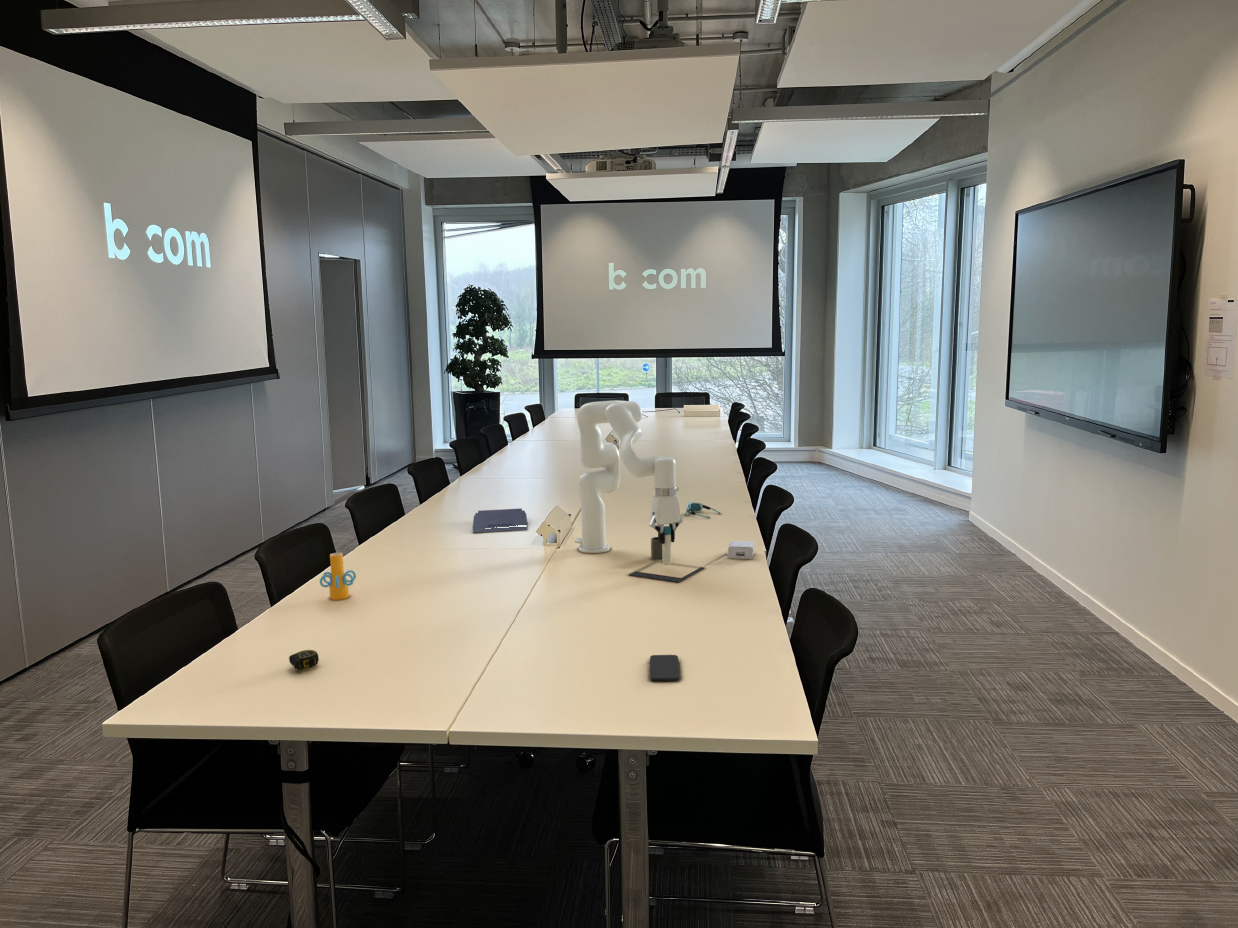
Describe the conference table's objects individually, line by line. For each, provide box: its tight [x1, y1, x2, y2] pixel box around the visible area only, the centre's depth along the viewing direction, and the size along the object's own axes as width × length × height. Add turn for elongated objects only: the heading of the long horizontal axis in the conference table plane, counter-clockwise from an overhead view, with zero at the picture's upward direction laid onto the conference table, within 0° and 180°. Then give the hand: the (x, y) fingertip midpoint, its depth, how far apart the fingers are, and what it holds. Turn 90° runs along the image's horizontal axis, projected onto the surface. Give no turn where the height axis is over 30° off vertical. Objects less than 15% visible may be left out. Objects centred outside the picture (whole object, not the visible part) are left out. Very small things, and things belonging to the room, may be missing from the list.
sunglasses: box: [685, 501, 722, 519], centre depth 399 cm, size 14×15×5 cm
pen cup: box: [650, 536, 663, 561], centre depth 323 cm, size 6×6×8 cm
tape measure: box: [288, 649, 320, 672], centre depth 226 cm, size 7×7×4 cm
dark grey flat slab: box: [472, 507, 529, 534], centre depth 389 cm, size 24×30×4 cm
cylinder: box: [319, 552, 357, 601], centre depth 285 cm, size 12×10×15 cm
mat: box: [628, 566, 705, 584], centre depth 306 cm, size 20×20×1 cm
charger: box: [727, 540, 755, 560], centre depth 328 cm, size 5×9×15 cm
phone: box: [649, 654, 681, 682], centre depth 218 cm, size 7×1×15 cm
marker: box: [662, 525, 672, 566], centre depth 304 cm, size 3×3×14 cm
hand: (666, 541), depth 304 cm, fingers closed on marker, 3 cm apart
